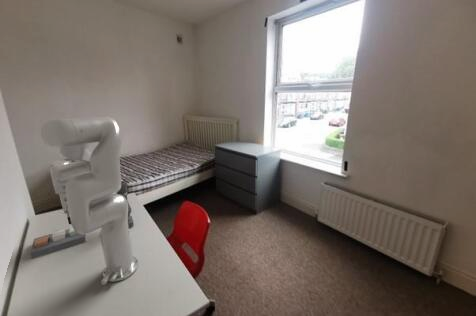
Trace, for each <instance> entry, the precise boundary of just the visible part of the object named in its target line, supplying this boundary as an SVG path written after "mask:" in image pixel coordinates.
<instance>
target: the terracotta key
mask: <svg viewBox="0 0 476 316" xmlns="http://www.w3.org/2000/svg"><path fill="white" fill-rule="evenodd" d="M38 238H39V237H38ZM48 243H49V237H48V236H47V237H43V238H39V239H36V240H35V243H34V246H35V247H38V246H42V245H45V244H48Z"/></svg>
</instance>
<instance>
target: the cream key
mask: <svg viewBox="0 0 476 316" xmlns="http://www.w3.org/2000/svg"><path fill="white" fill-rule="evenodd" d="M65 230H66V229H60V230H58V231H53V232H52V233H51V234H52V239H53V242H55V241H58V240H62V239H65V238H66V233H65Z"/></svg>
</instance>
